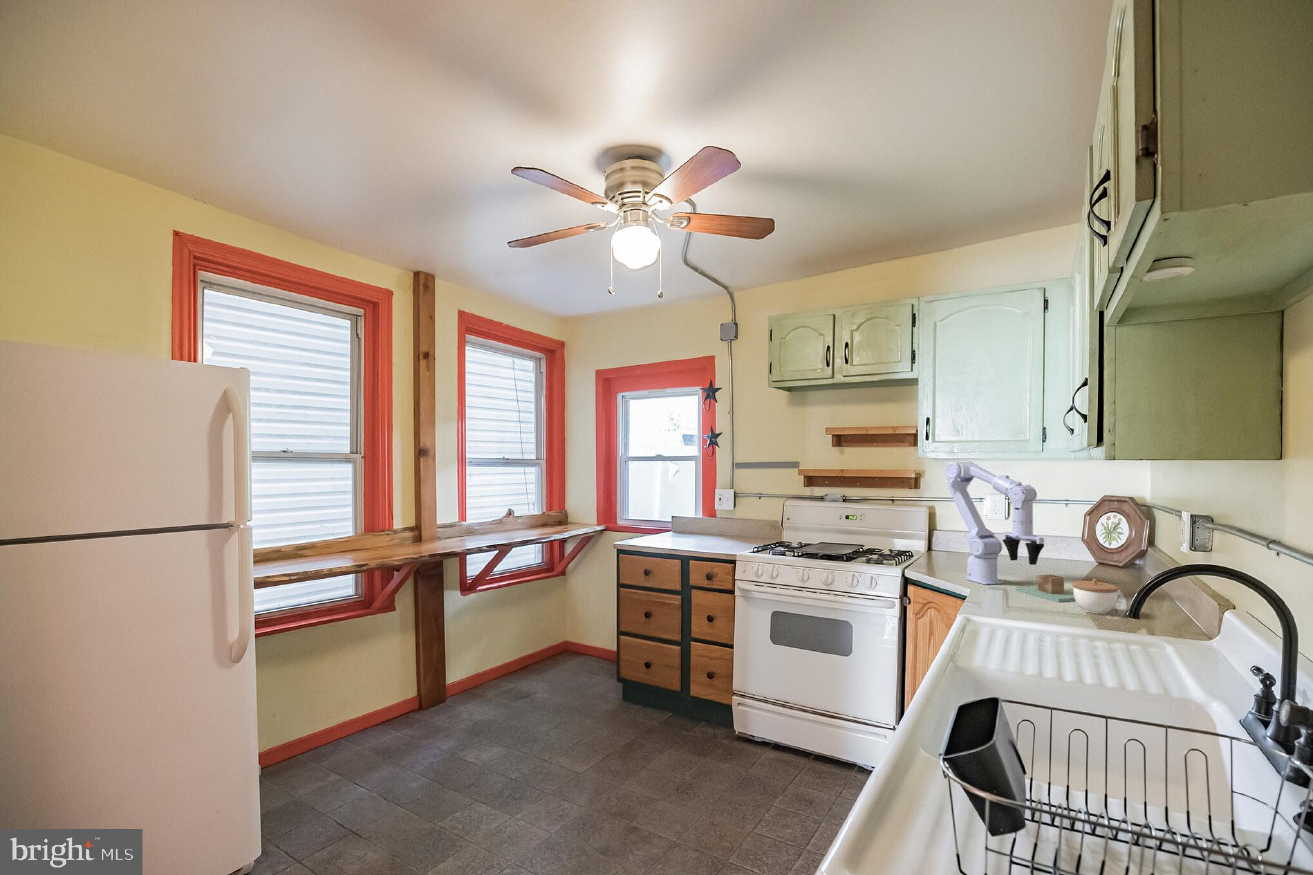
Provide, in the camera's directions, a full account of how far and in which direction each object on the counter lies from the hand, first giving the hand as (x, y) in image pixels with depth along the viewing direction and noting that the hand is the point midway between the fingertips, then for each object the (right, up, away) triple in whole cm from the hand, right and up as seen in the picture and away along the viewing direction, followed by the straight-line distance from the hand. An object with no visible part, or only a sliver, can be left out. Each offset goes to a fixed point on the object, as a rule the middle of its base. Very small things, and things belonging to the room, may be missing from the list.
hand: (1023, 562), depth 203 cm
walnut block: (+5, -8, -6) cm, 12 cm away
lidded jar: (+6, -9, -26) cm, 28 cm away
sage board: (+6, -9, -6) cm, 12 cm away
